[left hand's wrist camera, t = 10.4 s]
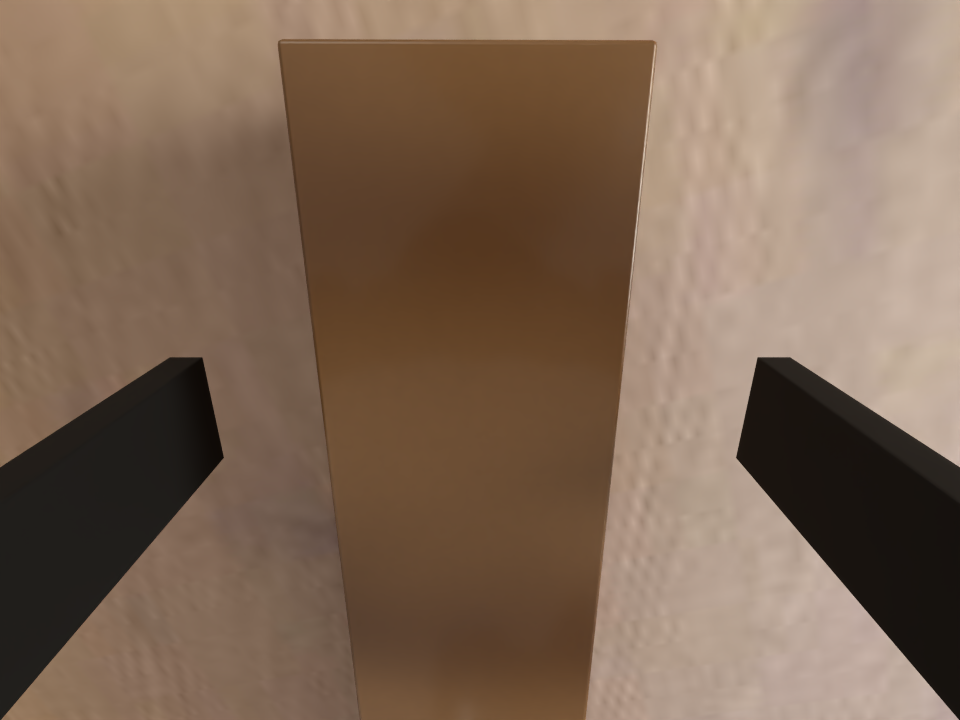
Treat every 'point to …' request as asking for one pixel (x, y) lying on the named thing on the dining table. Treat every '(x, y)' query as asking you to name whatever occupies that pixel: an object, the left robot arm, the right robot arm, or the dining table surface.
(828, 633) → the dining table surface
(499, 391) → the beam
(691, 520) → the dining table surface
